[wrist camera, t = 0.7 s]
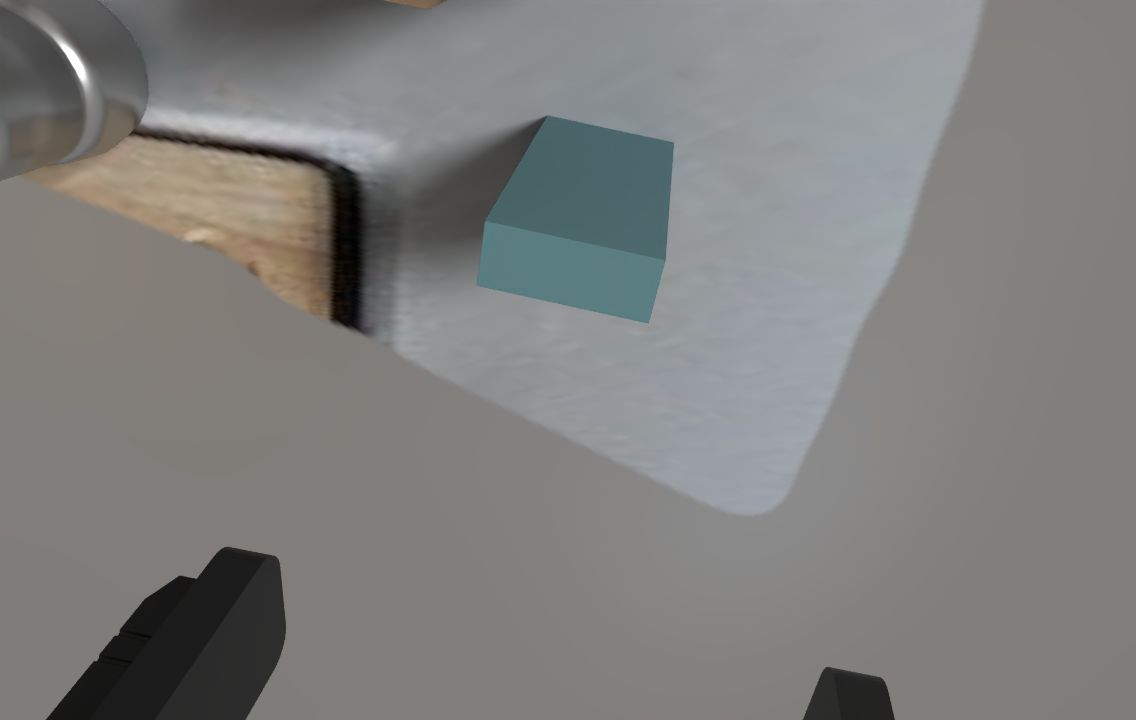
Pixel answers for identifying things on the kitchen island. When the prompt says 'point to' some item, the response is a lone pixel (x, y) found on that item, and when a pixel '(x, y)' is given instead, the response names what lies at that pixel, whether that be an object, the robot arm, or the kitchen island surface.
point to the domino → (418, 3)
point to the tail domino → (582, 221)
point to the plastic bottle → (65, 83)
